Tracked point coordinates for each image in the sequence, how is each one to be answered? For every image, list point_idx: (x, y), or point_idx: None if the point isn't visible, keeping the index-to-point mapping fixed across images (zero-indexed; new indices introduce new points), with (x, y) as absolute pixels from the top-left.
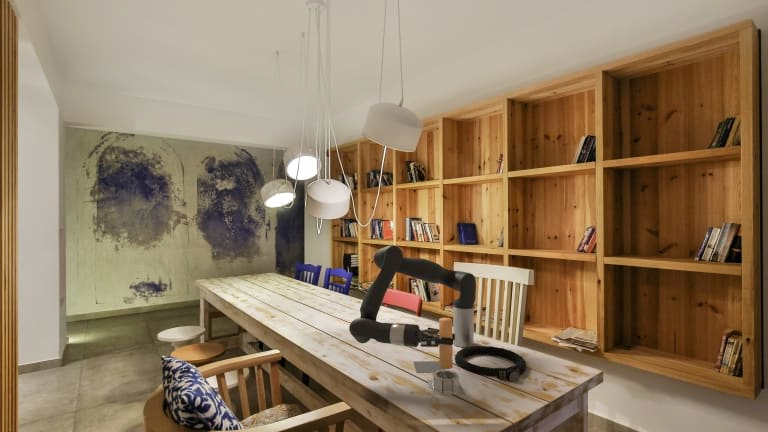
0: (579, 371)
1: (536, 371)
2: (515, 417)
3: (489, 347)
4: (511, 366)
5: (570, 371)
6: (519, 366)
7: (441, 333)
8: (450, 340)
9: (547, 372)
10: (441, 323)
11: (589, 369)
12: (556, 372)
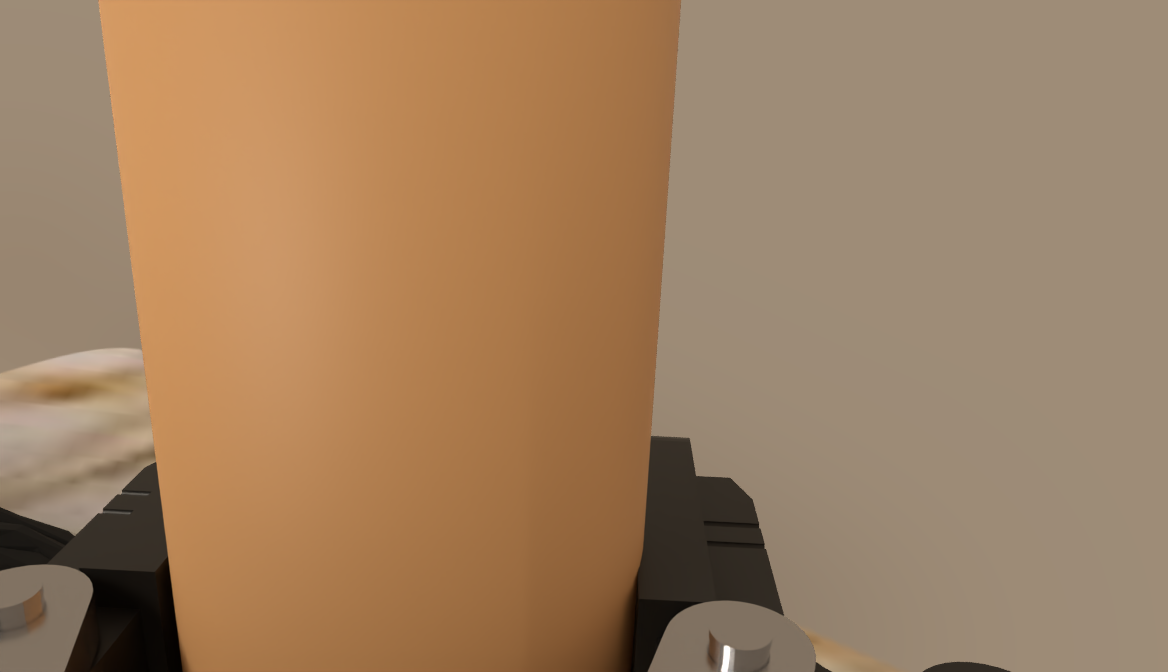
0: (97, 381)
1: (27, 507)
2: (850, 666)
3: None
4: (28, 564)
5: (85, 402)
6: (39, 526)
7: (608, 500)
8: (732, 489)
9: (67, 469)
10: (642, 67)
11: (81, 356)
12: (81, 441)
